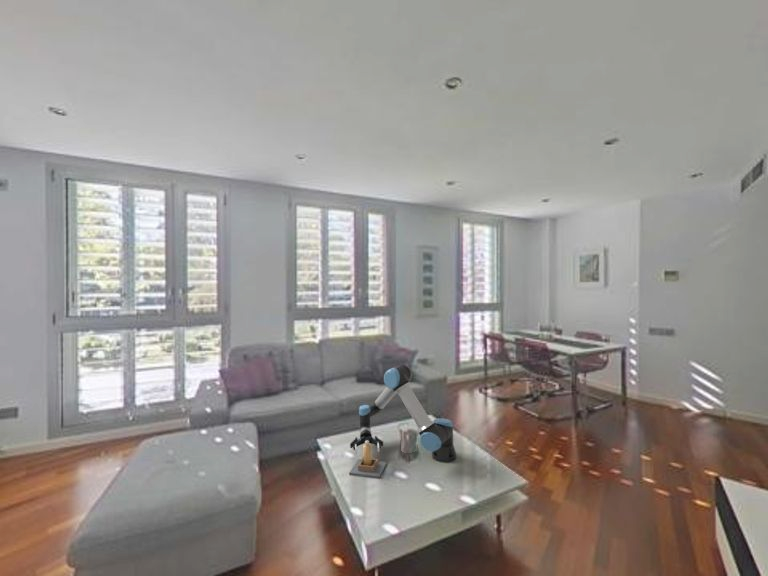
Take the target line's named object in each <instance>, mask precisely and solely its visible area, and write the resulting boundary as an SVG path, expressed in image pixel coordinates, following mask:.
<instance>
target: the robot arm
mask: <svg viewBox="0 0 768 576" xmlns="http://www.w3.org/2000/svg"><path fill="white" fill-rule="evenodd" d="M412 376H413V373H412V369H411V368H410V367H409V366H408V365H406V364H399V365H397V366H395V367H391V368H389V369H388V370H387V371H385V373H384V375H383V382H384V385H385V386H386V387H385V388H384V390H383V391H382V392H381V394H379V396H378V397H377V398H376V399H375V401H374V402H373V403H372V404H370V405H369V404H363V405H360V406H359V407H358V417H359V420H358V421H359V423H358V425H359V427H358V428H359V429H358V430H359V438H358V437H355V439H353V440H352V441H351V442H350V444H349V447H350V449H352V450H353V451H354V452H355V454H357V448H358V447H359V446H361V445H362V446H363V445H364V444H365V441H367V440H368V441H369V444H371V445H374V446H376V447H377V452H378V453H380V449H382V447H384V441H383V440H382V439H381V438H379V437H378V436H377V435H375V436H374V437H373V436H372V429H371V428H372V426H371V424H372V423H371V418H373V417H375V416H377V415H379V414H381V413H382V412H383V411H384V410H385V409H384V408H385V407H386V406H387V405H388V404H389V402H390V401H391V400H392V399H393V398H394V396H395V395H396V394H398V396H399V398H400V399H401V401H402V402H403V404H404V407H405V408H406V409H407V411H408V413H409V414H410V416H411V418H412V420H413V421H414V423H415V424H416V426H417V428H419V430H418V431H419V432H418V434H419V436H420V437H419V442H420V445H421V446H422V448H423V449H424V450H425V451H428V452H431V457H432V459H434V460H435V461H437V462H441V463H450V462H454V461H455V460H456V459H457V451H456V448H455V445H454V425H453V420H450V419H449V418H444V417H443V418H442V417H441V418H439V417H438V418H435V419H434V420H433V421H432V419H430V417H429V415H428V414H427V412H426V410H425V409H424V407H423V406H422V404H421V403H420V401H419V399H418V398H417V396H416V394H415V393H414V390H413V389H412V387H411V385H410V384H411V381H410V380H411V379H412Z"/></svg>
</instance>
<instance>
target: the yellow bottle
mask: <svg viewBox="0 0 768 576" xmlns="http://www.w3.org/2000/svg"><path fill="white" fill-rule="evenodd" d="M362 453H363V454H362V455H363V456H362V459H363V465H367V466H372V459H373V457H372V455H373V454H372V453H373V452H372V444H370V443H369V441H368V440H367V441H365V443H364V444H362Z"/></svg>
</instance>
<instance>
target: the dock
mask: <svg viewBox="0 0 768 576" xmlns="http://www.w3.org/2000/svg"><path fill="white" fill-rule="evenodd" d="M386 466H387V462H385V461H379V459H378V458H372V466H367V465H363V458H362V459H360V458H358V459H357V461H356V462H355V463H354V464H353V466H352V468H351V470H350V471H349V476H356V477H357V476H359V477H365V478H375V479H380V478H381V476H382V474H383V472H384V470H385V468H386Z"/></svg>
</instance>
